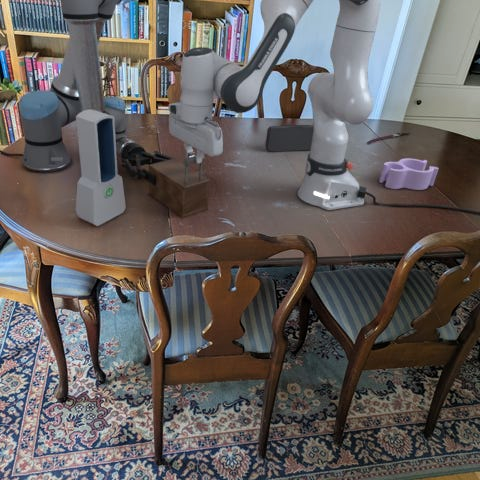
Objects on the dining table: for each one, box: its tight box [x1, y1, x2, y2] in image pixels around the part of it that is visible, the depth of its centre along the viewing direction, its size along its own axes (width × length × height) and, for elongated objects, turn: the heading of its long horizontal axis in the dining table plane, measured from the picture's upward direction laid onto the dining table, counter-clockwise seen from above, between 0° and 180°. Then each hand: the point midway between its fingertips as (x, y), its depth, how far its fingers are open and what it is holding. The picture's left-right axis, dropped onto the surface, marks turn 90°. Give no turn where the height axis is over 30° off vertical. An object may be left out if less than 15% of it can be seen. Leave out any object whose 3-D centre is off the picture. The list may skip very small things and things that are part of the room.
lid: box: [148, 154, 211, 190], centre depth 138 cm, size 18×10×9 cm, turn 43°
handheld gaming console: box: [264, 124, 313, 152], centre depth 189 cm, size 23×3×10 cm, turn 108°
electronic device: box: [75, 110, 127, 227], centre depth 126 cm, size 12×8×30 cm, turn 148°
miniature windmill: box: [100, 52, 117, 98], centre depth 184 cm, size 9×8×30 cm
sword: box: [367, 132, 410, 144], centre depth 214 cm, size 31×3×1 cm, turn 126°
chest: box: [148, 167, 210, 218], centre depth 143 cm, size 18×10×9 cm, turn 43°
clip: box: [378, 157, 439, 191], centre depth 172 cm, size 20×12×7 cm, turn 109°
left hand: (168, 176), depth 145 cm, fingers closed on chest, 9 cm apart
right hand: (194, 160), depth 133 cm, fingers closed on lid, 2 cm apart
